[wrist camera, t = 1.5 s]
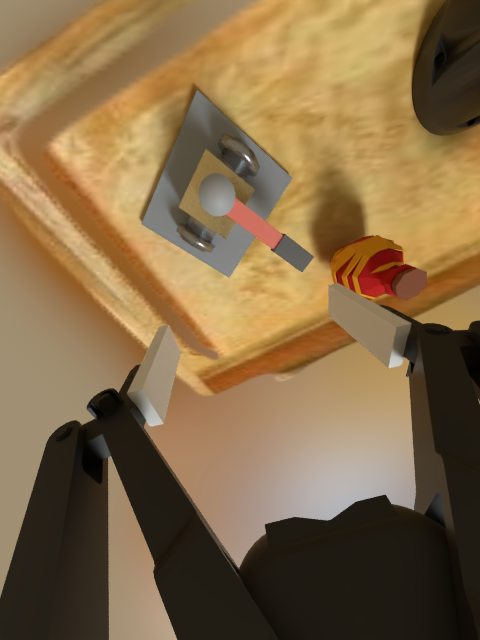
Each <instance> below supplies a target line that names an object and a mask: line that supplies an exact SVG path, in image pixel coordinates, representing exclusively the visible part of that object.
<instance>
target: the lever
mask: <svg viewBox="0 0 480 640" xmlns="http://www.w3.org/2000/svg"><path fill="white" fill-rule="evenodd" d="M198 195H199V201H200V204H201V206H202V207H203V209H204V210H205V211H206V212H207V213H209V214H210V215H213V216H223V215H227V216H228V217H229V218H231V219H232V220H234V221H235V222H236V223H238V224H239V225H240V226H242V227H243V228H244V229H246V230H247V231H249V232H250V233H251V234H253V235H254V236H255V237H257V238H258V239H260V240H261V241H262V242H264V243H265V244H266V245H268V246H269V247H270V248H271V250H272V251H273V252H275V253H276V254H277V255H279V256H280V257H281V258H283V259H284V260H286V261H287V262H288V263H290V264H291V265H292V266H294V267H295V268H297V269H298V270H299V271H301V272H303V271H304V269H305V268H306V267H307V265H308V264H309V263H310V261H311V260H312V259H313V258H314V256H312V255H311V254H310V253H309V252H307V251H306V250H305V249H304V248H302V247H301V246H300V245H298V244H297V243H296V242H295V241H293V240H292V239H291V238H290V237H288V236H287V235H286V234H281V233H280V232H279V231H277V230H276V229H275V228H274V227H272V226H271V225H270V224H268V223H267V222H266V221H265V220H263V219H262V218H261V217H259V216H258V215H257V214H256V213H254V212H253V211H252V210H250V209H249V208H248V207H247V206H245V205H244V204H243V203H242V202H240V201H239V200H238V199H236V198H235V189H234V186H233V184H232V183H231V181H230V180H229V179H228V178H227V177H226V176H224V175H222V174H219V173H213V174H210V175H208V176H206V177H205V178H204V179H203V180H202V182H201V184H200V186H199V191H198Z"/></svg>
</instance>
